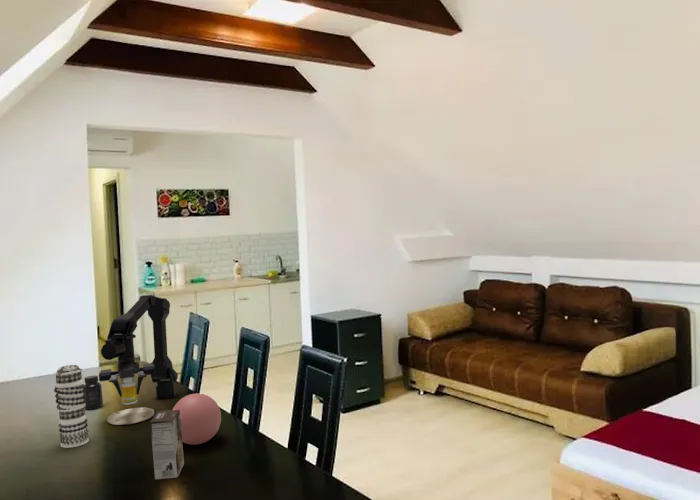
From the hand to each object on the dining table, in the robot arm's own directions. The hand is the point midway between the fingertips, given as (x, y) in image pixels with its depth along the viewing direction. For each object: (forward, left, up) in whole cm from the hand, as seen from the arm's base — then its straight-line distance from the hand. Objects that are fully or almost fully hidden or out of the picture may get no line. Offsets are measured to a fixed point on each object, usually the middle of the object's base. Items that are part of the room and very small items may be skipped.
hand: (129, 395), depth 214 cm
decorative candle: (+17, +17, -8) cm, 26 cm away
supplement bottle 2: (0, 0, -3) cm, 3 cm away
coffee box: (-11, +56, -9) cm, 58 cm away
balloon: (-18, +38, -8) cm, 43 cm away
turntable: (0, 0, -8) cm, 8 cm away
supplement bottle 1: (+14, -22, -9) cm, 27 cm away
